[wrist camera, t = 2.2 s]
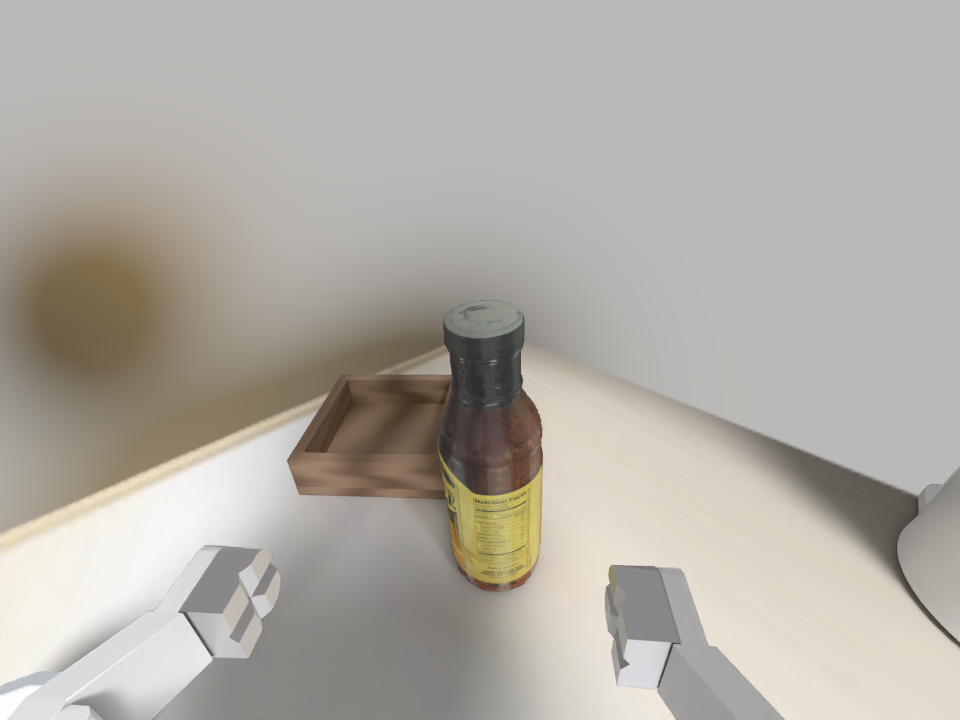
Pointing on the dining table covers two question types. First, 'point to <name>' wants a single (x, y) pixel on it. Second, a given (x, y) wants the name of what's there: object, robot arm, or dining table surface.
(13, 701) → the white cup
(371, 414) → the brown wooden tray
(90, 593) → the dining table surface
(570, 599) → the dining table surface
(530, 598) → the dining table surface
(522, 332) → the sauce bottle
